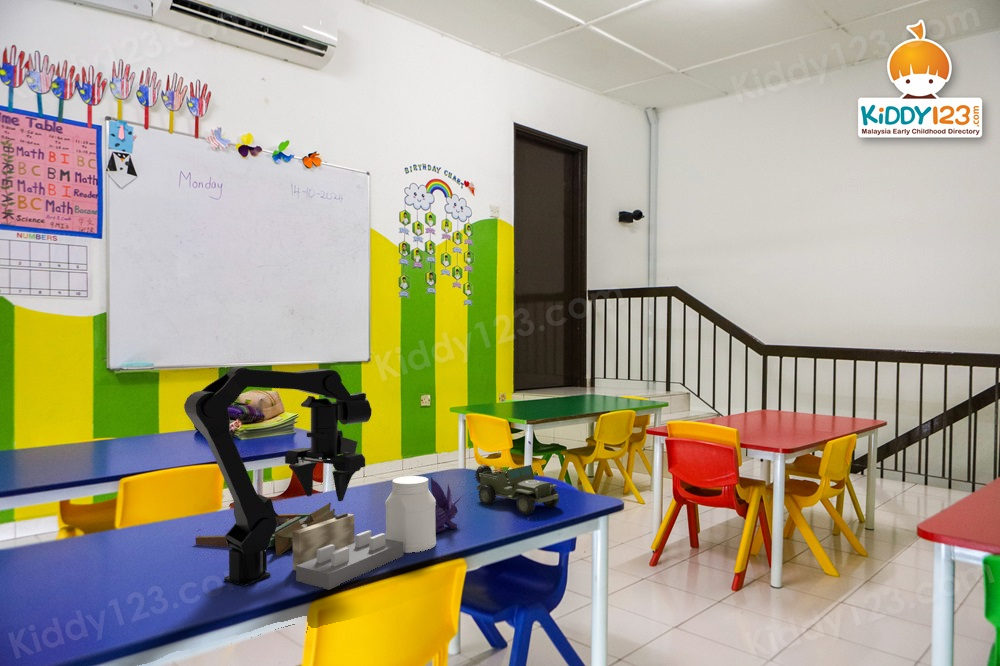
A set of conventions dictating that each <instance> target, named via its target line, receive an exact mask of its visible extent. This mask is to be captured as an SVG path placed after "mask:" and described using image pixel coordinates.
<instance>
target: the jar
mask: <svg viewBox="0 0 1000 666" xmlns="http://www.w3.org/2000/svg"><path fill="white" fill-rule="evenodd" d="M391 481H392V488H391V489H392V490H391V492H390V494H389V496H388V497H387V499H386V500H385V502H384V503H385V504H384V506H385V534H386V539H389V540H394V541H399V542H403V553H405V554H412V552H415V553H421V552H425V550H426V551H428V549H429V550H431V549H432V548H434V547H435V546H436V545H437V535H436V529H435V507H436V506H435V505H437V504H436V500H435V498H434V496H433V495H432V491H430V489H429V478H428V477H425V476H417V475H416V476H415V475H410V476H409V475H407V476H399V477H397V478H396V477H395V478H394V479H392V480H391ZM420 551H421V552H420Z"/></svg>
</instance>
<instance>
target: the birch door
mask: <svg viewBox="0 0 1000 666" xmlns="http://www.w3.org/2000/svg"><path fill="white" fill-rule="evenodd" d="M355 525H356V524H355V514H353V513H348V512H343V513H340V514H337V515H336V516H335V518H333V519H330V520H327V521H324V522H321V523H318V524H315V525H312V526H309V527H306V528H303V529H300V530H297V531H294V532H293V547H292V571H295V572H296V566H297V565H299V564H302V563H304V562H307V561H310V560H312V559H315V558H317V549H320V548H323V547H325V546H328V545H331V544H333V545H335V550H338V549H340V548H343V547H346V546H348V545H351V544H353V543H355V535H356V534H355V533H356V532H355V530H356V528H355Z"/></svg>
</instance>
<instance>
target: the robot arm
mask: <svg viewBox="0 0 1000 666" xmlns="http://www.w3.org/2000/svg"><path fill="white" fill-rule="evenodd" d="M247 388H262V389H263V388H264V389H281V390H282V389H283V390H296V391H299V392H302V393H306V394H311V395H308V396H307V398H306V399H305V400H304V401H303V402H301V403H300V406H301V408H308V409H310V431H307V432H306V438H310V448H309V447H299V448H293V449H289V450H287V452H286V453H285V455H284V457H285V458H284V464H286V465H288V467H289V468H290V469H291V470H292V472H293V473H294V475H295V476H296V478H297V479H298V481H299V484H300V486H301V487H302V489H303V491H304V493H305V495H306V496H307V498H308V497H312V495H313V490H314V489H313V485H314V469H316V467H317V465H318V463H320V464H326V465H327V464H329V465H332V466H333V468H334V469H335V470H332V477H333V484H334V487H335V495H336V498H337V501H338V502H343V501H344V499H345V496H346V492H347V490H348V487H349V484H350V481H351V479H352V477H353V476H354V475H355V473H356V472H359V471H360V470H361V469H363V468H365V467H366V457H365V456H364V455H363V453H356V452H357V451H356V450H357V447H358V443H359V442H358V441H356V440H353V439H351V438H347V437H344V433H343V430H340V429H339V426H338V425H339V423H340V424H341V425H343V426H344V425H353V424H354V425H355V424H363V423H368V422H369V421H370V419H371V417H372V407H371V404H370V402H369V400H368V398H367V393H366V392H356V393H350V392H349V391H348V389H347V388H346V386H345V385H344V383H342V377H341V375H340V374H339V372H338V371H337V370H334V369H324V368H316V369H315V368H313V369H305V370H299V371H283V370H280V371H279V370H267V369H252V368H248V367H244V366H243V367H241V366H234V367H231V368H230V369H229V370H228V371H227V372H226V373H224V374H223V375H222V376H220V377H219V378H217V379H215V380H214V381H212V382H211V383H209V384H208V385H207V386H205V387H204V388H202V389H201V390H198V391H194V392H192V393H191V394H190V395H188V397H187V398H186V399H185V402H184V404H183V405H184V406H183V408H184V412H185V414H186V416H187V417H188V418H189V420H190V421H191V423H192V425H194V427H195V428H196V429H197V430H198V431H199V432H200V434H202V436H203V437H204V438H205V439H206V441H207V443H208V446H209V448H210V450H211V452H212V454H213V456H214V458H215V459H214V460H215V462H216V464H217V466H218V468H219V470H220V473H221V475H222V477H223V479H224V481H225V483H226V486H227V488H228V491H229V493H230V495H231V498H232V499H233V500H232V501H233V515H234V519H235V523H234V524H233V525H232V526H231V528H230V529H229V530H228V531H227V533H226V534H225V539H226V542H227V544H228V545H229V546H228V547H232V548H231V549H228V550H229V551H228V575H226V576H224V577H223V580H224V581H225V582H229V583H234V584H236V585H241V586H244V587H245V586H247V585H251V584H253V583H256V582H258V581H259V582H260V581H261V580H263V579H265V578H266V579H267V578H269V577H271V575H272V573H271V572H268V565H267V564H268V551H267V550H268V549H269V547H270V546H269V542H270V539H271V536H272V535H273V534H274V532H275V530H276V528H277V527H278V524H277V519H276V517H278V516H279V515H278V514H279V513H277V512H276V510H275V508H274V503H273V501H272V499H271V498H270V497H267V496H264V495H262V494H260V493H257V491H256V488H255V486H254V484H253V482H252V479H251V477H250V475H249V472H248V470H247V467H246V466H245V463H244V461H243V459H242V457H241V454H240V452H239V450H238V446H237V445H236V442H235V441H234V438H233V436H232V433H231V429H230V428H231V425H230V424H231V419H230V417H231V416H230V413H229V409H228V408H229V407H230V406H232V405H233V404H234V403H235V402H236V400H238V398H239V397H240V396H241V394H242V393H243V392H244V390H246V389H247ZM313 395H314V396H313ZM315 395H316V396H323V398H316V397H315ZM330 399H334V400H335V401H331V400H330ZM268 546H269V547H268Z"/></svg>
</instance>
